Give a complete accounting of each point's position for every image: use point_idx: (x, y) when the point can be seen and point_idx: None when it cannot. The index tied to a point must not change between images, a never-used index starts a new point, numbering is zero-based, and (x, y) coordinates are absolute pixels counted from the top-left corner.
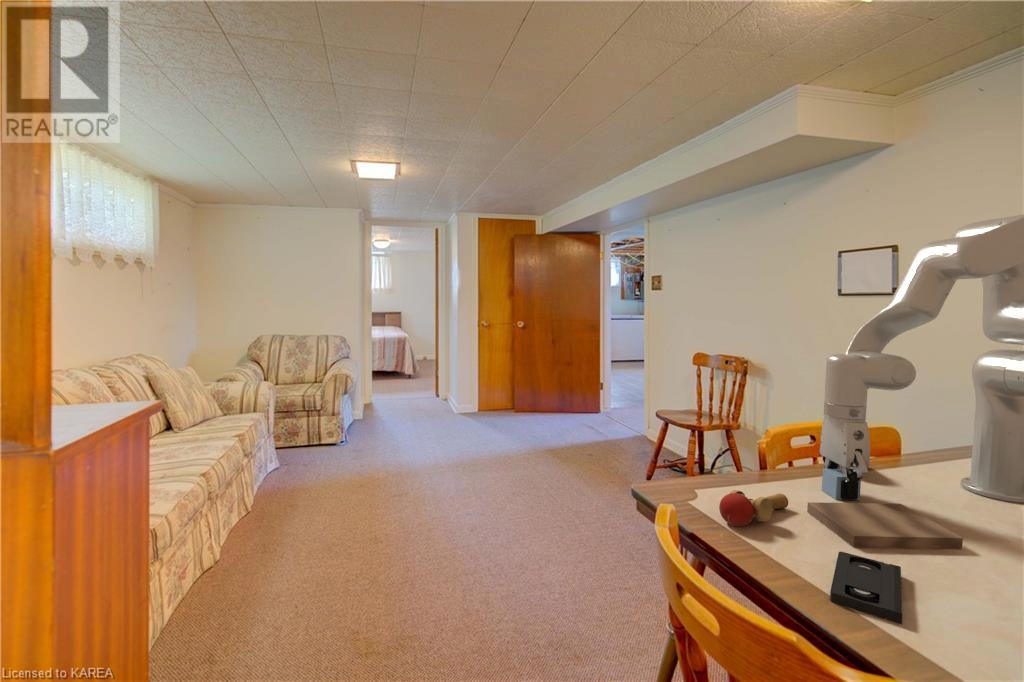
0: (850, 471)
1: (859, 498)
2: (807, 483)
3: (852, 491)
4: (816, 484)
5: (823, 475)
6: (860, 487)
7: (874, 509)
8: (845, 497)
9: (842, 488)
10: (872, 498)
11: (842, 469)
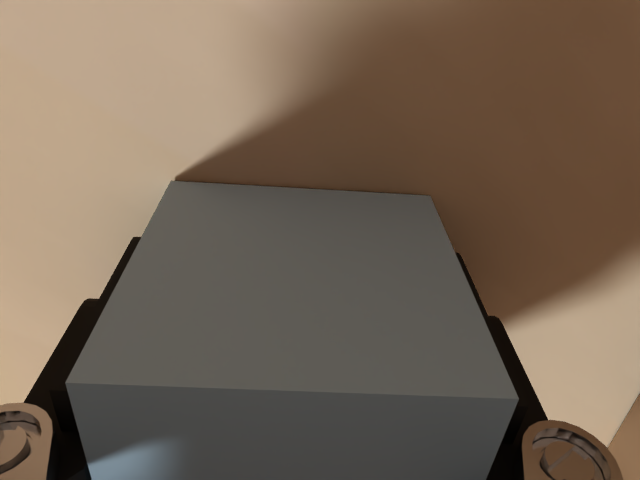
0: (213, 389)
1: (430, 206)
2: (11, 380)
3: None
4: (17, 328)
5: None
6: (464, 278)
7: None
8: None
9: None
10: (402, 5)
11: (108, 439)
